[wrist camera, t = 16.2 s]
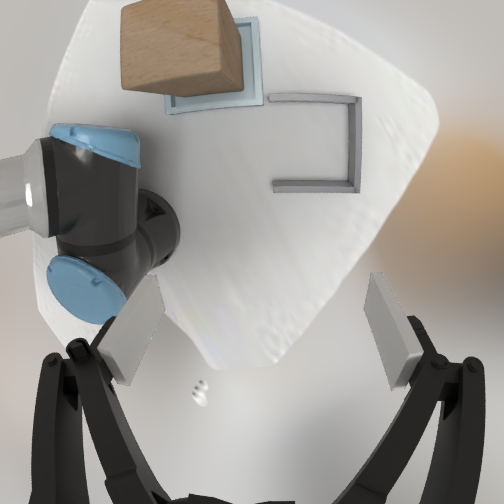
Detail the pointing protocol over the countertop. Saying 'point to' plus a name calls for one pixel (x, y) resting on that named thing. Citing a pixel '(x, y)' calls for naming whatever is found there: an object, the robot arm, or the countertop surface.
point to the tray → (251, 75)
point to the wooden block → (180, 48)
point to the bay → (354, 147)
